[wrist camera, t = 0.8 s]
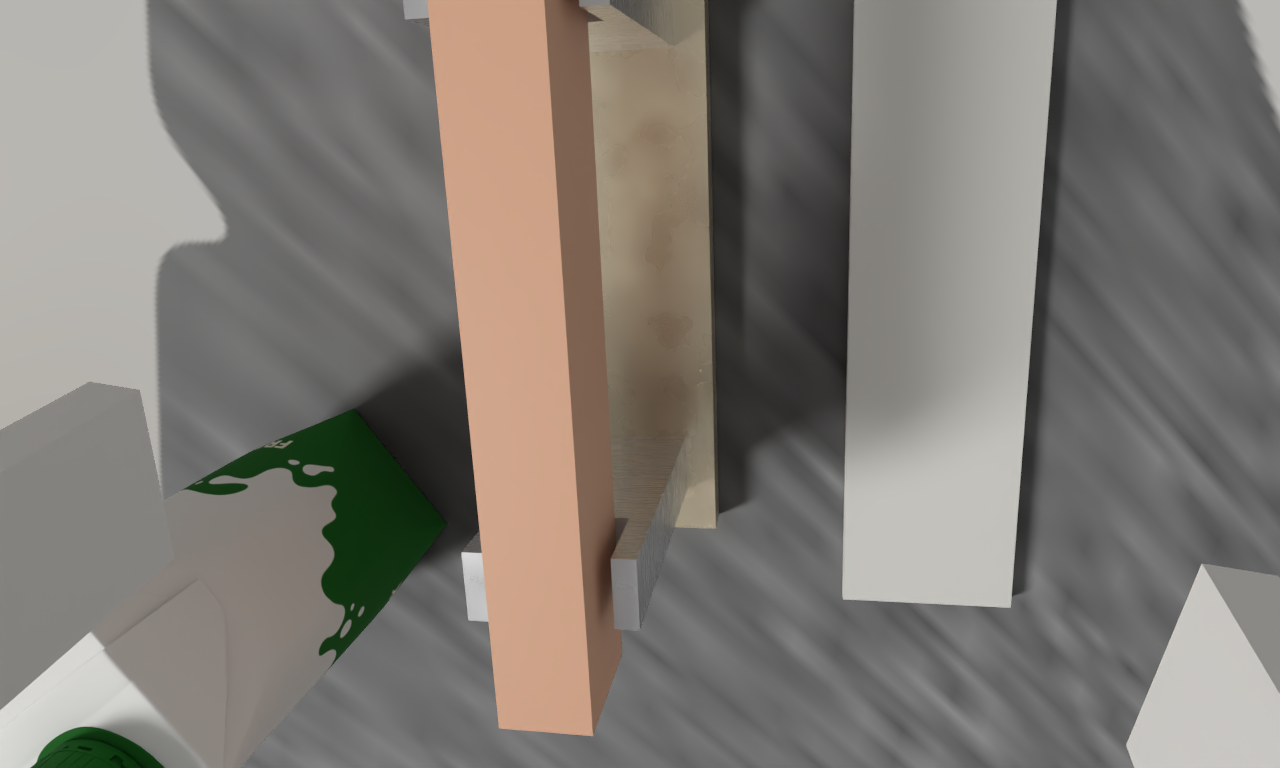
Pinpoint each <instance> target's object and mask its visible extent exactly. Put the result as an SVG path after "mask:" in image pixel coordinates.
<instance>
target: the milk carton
mask: <svg viewBox="0 0 1280 768" xmlns="http://www.w3.org/2000/svg"><path fill="white" fill-rule="evenodd" d="M163 504H164V508H165V513H166V518H167V523H168V528H169V532H170V537H171V542H172V547H173V551H174V556H175V558H174V559H173V560H172V561H171V562H170V563H168V564H167V565H166V566H165V567H164V568H163V569H162V570H160V571H159V572H158V573H157V574H156V575H155V576H154V577H152V578H151V579H150V580H149V581H148V582H147V583H146V584H144V585H143V586H142V587H141V588H140V589H139V590H137V591H136V592H135V593H134V594H133V595H132V596H131V597H129V598H128V599H127V600H126V601H125V602H124V603H123V604H121V605H120V606H119V607H118V608H117V609H116V610H115V611H113V612H112V613H111V614H110V615H109V616H108V617H107V618H105V619H104V620H103V621H102V622H101V623H100V624H99V625H97V626H96V627H95V628H94V629H93V630H92V631H91V632H89V633H88V634H87V635H86V636H85V637H84V638H83V639H81V640H80V641H79V642H78V643H77V644H76V645H74V646H73V647H72V648H71V649H70V650H69V651H68V652H66V653H65V654H64V655H63V656H62V657H61V658H60V659H58V660H57V661H56V662H55V663H54V664H53V665H52V666H50V667H49V668H48V669H47V670H46V671H45V672H44V673H42V674H41V675H40V676H39V677H38V678H37V679H36V680H34V681H33V682H32V683H31V684H30V685H29V686H28V687H26V688H25V689H24V690H23V691H22V692H21V693H19V694H18V695H17V696H16V697H15V698H14V699H13V700H11V701H10V702H9V703H8V704H7V705H6V706H5V707H3V708H2V709H1V710H0V768H241V767H242V765H243V764H244V763H245V762H246V761H247V760H248V758H249V757H250V756H251V755H252V754H253V753H254V751H255V750H256V749H257V748H258V747H259V746H260V745H261V744H262V742H263V741H264V740H265V739H266V738H267V737H268V736H269V735H270V734H271V733H272V731H273V730H274V729H275V728H276V727H277V726H278V725H279V724H280V723H281V722H282V720H283V719H284V718H285V717H286V716H287V715H288V714H289V713H290V712H291V711H292V709H293V708H294V707H295V706H296V705H297V704H298V703H299V702H300V700H301V699H302V698H303V697H304V696H305V695H306V694H307V693H308V692H309V690H310V689H311V688H312V687H313V686H314V685H315V684H316V683H317V681H318V680H319V679H320V678H321V677H322V676H323V675H324V674H325V673H326V671H327V670H328V669H329V668H330V667H331V666H332V665H333V664H334V662H335V661H336V660H337V659H338V658H339V657H340V656H341V655H342V654H343V652H344V651H345V650H346V649H347V648H348V647H349V646H350V645H351V643H352V642H353V641H354V640H355V639H356V638H357V637H358V636H359V634H360V633H361V632H362V631H363V630H364V629H365V628H366V627H367V626H368V624H369V623H370V622H371V621H372V620H373V619H374V618H375V616H376V615H377V614H378V613H379V612H380V611H381V610H382V608H383V607H384V606H385V605H386V603H387V602H388V601H389V600H390V598H391V597H392V596H393V595H394V593H395V592H396V591H397V589H398V588H399V587H400V585H401V584H402V583H403V581H404V580H405V579H406V578H407V576H408V575H409V574H410V572H411V571H412V570H413V568H414V567H415V566H416V564H417V563H418V562H419V560H420V559H421V558H422V556H423V555H424V554H425V552H426V551H427V550H428V548H429V547H430V546H431V545H432V543H433V542H434V541H435V539H436V538H437V537H438V535H439V534H440V533H441V531H442V530H443V529H444V528H445V526H446V525H447V523H446V522H445V521H444V519H443V518H442V517H441V516H440V514H439V513H438V512H437V511H436V509H435V508H434V507H433V506H432V505H431V503H430V502H429V501H428V500H427V498H426V497H425V496H424V495H423V493H422V492H421V491H420V490H419V488H418V487H417V486H416V485H415V484H414V482H413V481H412V480H411V479H410V477H409V476H408V475H407V474H406V472H405V471H404V470H403V469H402V468H401V466H400V465H399V464H398V463H397V461H396V460H395V459H394V458H393V456H392V455H391V454H390V453H389V451H388V450H387V449H386V448H385V447H384V445H383V444H382V443H381V442H380V440H379V439H378V438H377V437H376V435H375V434H374V433H373V432H372V430H371V429H370V428H369V427H368V426H367V424H366V423H365V422H364V421H363V419H362V418H361V417H360V416H359V414H358V413H357V412H356V411H355V410H354V409H352V410H350V411H347V412H345V413H343V414H340V415H338V416H335V417H333V418H331V419H328V420H326V421H323V422H321V423H318V424H316V425H313V426H311V427H309V428H306V429H304V430H301V431H299V432H296V433H294V434H291V435H289V436H286V437H284V438H282V439H279V440H277V441H274V442H272V443H269V444H267V445H264V446H262V447H260V448H258V449H256V450H253V451H251V452H249V453H248V454H246V455H244V456H242V457H240V458H238V459H236V460H235V461H233V462H231V463H229V464H227V465H225V466H224V467H222V468H220V469H218V470H217V471H215V472H213V473H211V474H210V475H208V476H206V477H204V478H203V479H201V480H199V481H197V482H195V483H194V484H192V485H190V486H188V487H187V488H185V489H183V490H181V491H180V492H178V493H176V494H174V495H173V496H171V497H169V498H167V499H165V500H164V501H163Z"/></svg>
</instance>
